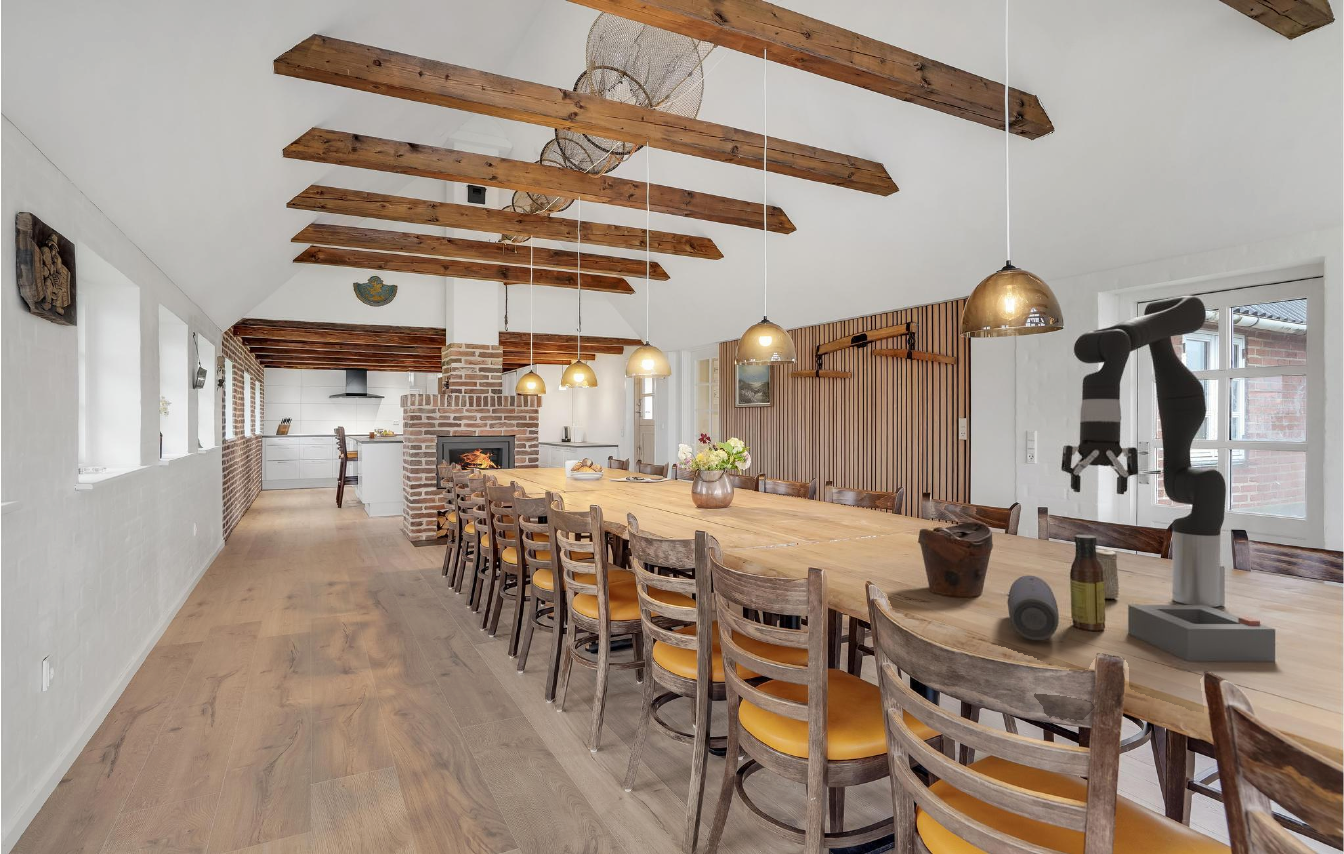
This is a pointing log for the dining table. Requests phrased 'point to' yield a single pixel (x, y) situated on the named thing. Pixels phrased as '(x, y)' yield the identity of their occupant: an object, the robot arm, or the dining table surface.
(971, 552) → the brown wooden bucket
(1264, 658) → the bottle socket block
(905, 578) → the dining table surface
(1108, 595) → the carving
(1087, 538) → the sauce bottle
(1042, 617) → the bluetooth speaker
